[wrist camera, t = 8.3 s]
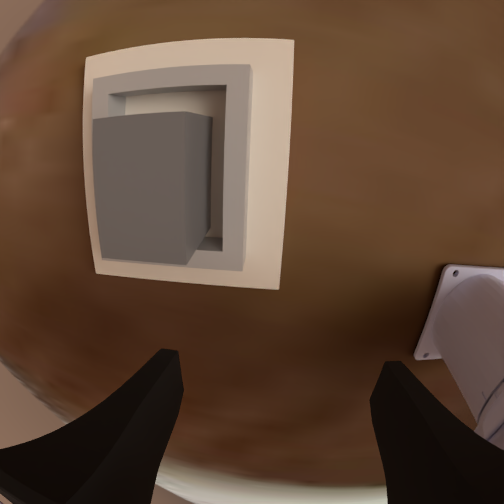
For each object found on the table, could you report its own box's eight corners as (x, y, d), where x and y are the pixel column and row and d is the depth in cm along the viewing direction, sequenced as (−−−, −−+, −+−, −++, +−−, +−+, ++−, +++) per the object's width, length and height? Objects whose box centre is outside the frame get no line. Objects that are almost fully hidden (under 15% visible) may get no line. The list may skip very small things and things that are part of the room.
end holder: (293, 45, 14) (296, 28, 11) (278, 281, 19) (279, 307, 16) (94, 59, 14) (67, 52, 12) (102, 267, 20) (81, 287, 17)
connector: (212, 117, 15) (185, 111, 10) (210, 227, 17) (186, 265, 12) (141, 119, 15) (92, 119, 10) (143, 224, 17) (101, 257, 12)
